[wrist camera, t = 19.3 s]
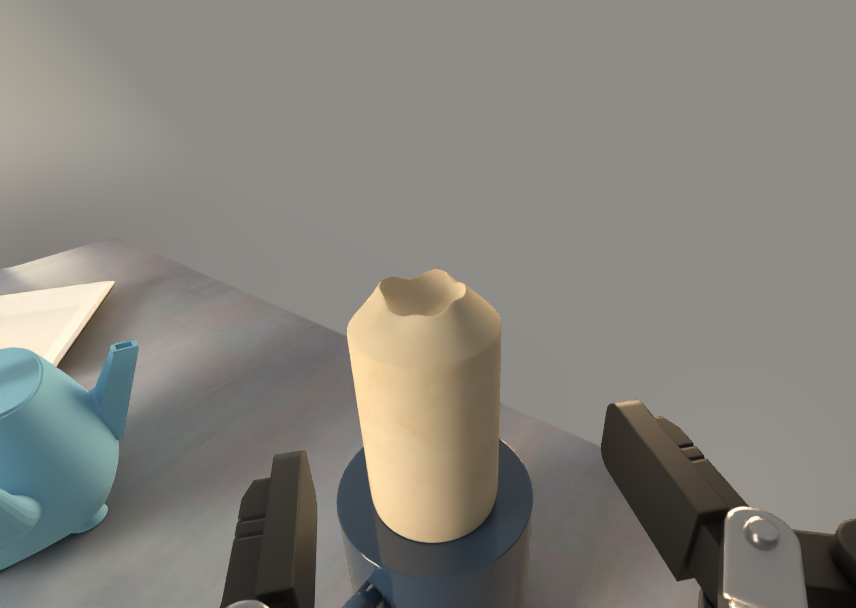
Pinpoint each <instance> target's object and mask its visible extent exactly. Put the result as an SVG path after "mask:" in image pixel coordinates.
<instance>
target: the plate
mask: <svg viewBox="0 0 856 608" xmlns="http://www.w3.org/2000/svg"><path fill="white" fill-rule="evenodd" d="M114 284H115V281H104V282H97V283H89V284H82V285H75V286H67V287H60V288H53V289H45V290H38V291H31V292H23V293H16V294H9V295H1V296H0V349H4V348H12V347H16V348H24V349H28V350H30V351H32V352H34V353H36V354H37V355H39V356H41V357H43V358H44V359H46V360H47V361H48V362H50V363H51V364H53V365H54V366H56V367H57V368H58V366H59V365H60V363H61V362H62V360H63V359H64V358H65V356H66V355H67V353H68V352H69V350H70V349H71V347H72V346H73V345H74V343H75V342H76V340H77V339H78V337H79V336H80V334H81V333H82V332H83V330H84V329H85V327H86V326H87V324H88V323H89V321H90V320H91V319H92V317H93V316H94V314H95V313H96V311H97V310H98V308H99V307H100V306H101V304H102V303H103V301H104V300H105V298H106V297H107V295H108V294H109V293H110V291H111V290H112V288H113V287H114Z"/></svg>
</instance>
